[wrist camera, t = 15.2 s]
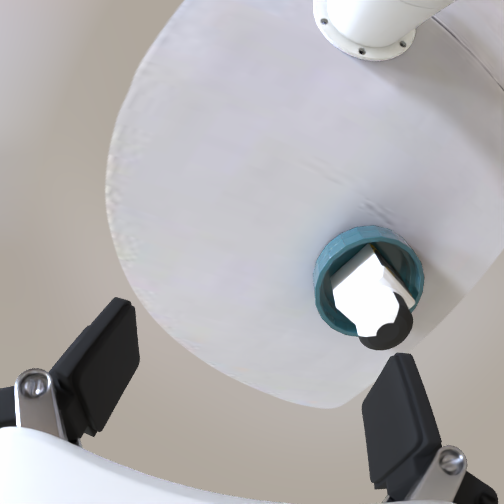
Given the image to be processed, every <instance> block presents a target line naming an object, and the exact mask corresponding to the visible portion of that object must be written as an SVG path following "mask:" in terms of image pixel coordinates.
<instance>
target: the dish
mask: <svg viewBox="0 0 504 504" xmlns="http://www.w3.org/2000/svg"><path fill="white" fill-rule="evenodd" d="M368 243H371V244H372V245H373V246H374V247H375V248H376V249H377V250H378V251H379V252H380V254H381V255H382V256H383V257H384V258H385V259H386V260H387V261H388V262H389V264H390V265H391V266H392V267H393V268H394V269H395V270H396V271H397V273H398V274H399V275H400V276H401V278H402V280H403V281H404V283H405V285H406V286H407V288H408V290H409V291H410V293H411V295H412V297H413V298H414V300H415V305H414V306H412V307H411V308H410V309H409V310H410V312H411V313H412V312H413V310H414V309H415V308H416V306H417V304H418V302H419V300H420V297H421V295H422V293H423V286H424V273H423V268H422V264H421V261H420V260H419V258H418V257H417V255H416V254H415V252H414V251H413V250H412V248H411V247H410V246H409V245H408V244H407V242H406V241H405V240H404V239H403V238H402V237H401V236H399V235H398V234H396V233H395V232H393V231H392V230H390V229H387V228H383V227H379V226H374V225H373V226H362V227H356V228H353V229H351V230H348V231H346V232H344V233H341V234H339V235H338V236H337V237H336V238H335V239H333V240H332V241H331V242H330V243H329V244H327V246H326V247H325V248H324V250H323V251H322V253H321V254H320V256H319V257H318V259H317V262H316V265H315V269H314V273H313V282H314V294H315V305H316V307H317V309H318V311H319V314H320V316H321V318H322V319H323V320H324V321H325V322H326V323H327V324H328V325H329V326H330V327H331V328H332V329H334V330H336V331H338V332H340V333H342V334H345V335H349V336H356V337H359V336H358V332H357V328H356V325H355V324H354V323H353V322H352V321H351V320H350V319H349V318H347V317H346V316H345V315H344V314H343V313H342V312H341V311H340V310H338V309H337V308H336V305H335V299H334V294H333V289H332V284H331V280H330V278H331V276H332V275H333V274H335V273H336V272H337V271H338V270H339V269H340V268H341V267H342V266H344V265H345V264H346V263H347V262H348V261H349V260H350V259H351V258H353V257H354V256H355V255H356V254H357V253H358V252H359V251H360V250H361V249H362V248H363V247H365V246H366V245H367V244H368Z"/></svg>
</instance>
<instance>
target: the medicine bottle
mask: <svg viewBox="0 0 504 504" xmlns="http://www.w3.org/2000/svg"><path fill="white" fill-rule="evenodd" d="M330 280H331V284H332V289H333V294H334V299H335V305H336V308H337V309H338V310H340V311H341V312H342V313H343V314H344V315H345V316H346V317H347V318H349V319H350V320H351V321H352V322H353V323H354V324H355V325H356V328H357V332H358V336H359V339H360V341H361V343H362V344H363V345H364V346H366V347H368V348H370V349H373V350H387V349H390V348H393V347H395V346H397V345H399V344H400V343H401V342H402V341H404V340H405V338H406V337H407V336H408V334H409V333H410V331H411V329H412V325H413V317H412V314H411V312H410V310H409V309H410V308H411V307H412V306H414V305H415V300H414V298H413V297H412V295H411V293H410V291H409V290H408V288H407V286H406V285H405V283H404V281H403V280H402V278H401V276H400V275H399V274H398V273H397V271H396V270H395V269H394V268H393V267H392V266H391V265H390V264H389V262H388V261H387V260H386V259H385V258H384V257H383V256H382V255H381V254H380V252H379V251H378V250H377V249H376V248H375V247H374V246H373V245H372V244H371V243H368V244H367V245H366V246H365V247H363V248H362V249H361V250H360V251H359V252H358V253H357V254H356V255H355V256H354V257H353V258H351V259H350V260H349V261H348V262H347V263H346V264H345V265H344V266H342V267H341V268H340V269H339V270H338V271H337V272H336V273H335V274H333V275H332V276H331V278H330Z"/></svg>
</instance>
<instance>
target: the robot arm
mask: <svg viewBox="0 0 504 504" xmlns="http://www.w3.org/2000/svg"><path fill="white" fill-rule="evenodd" d="M454 1H456V0H314V4H313V11H314V17H315V20H316V23H317V25H318V27H319V29H320V31H321V32H322V33H323V35H324V36H325V37H326V38H327V40H329V41H330V42H331V43H332V44H333V45H334V46H335V47H337V48H338V49H340V50H341V51H343V52H345V53H347V54H349V55H351V56H353V57H356V58H359V59H362V60H369V61H384V60H390V59H392V58H395V57H397V56H399V55H401V54H402V53H404V52H405V51H406V50H407V49H408V48H409V47H410V45H411V44H412V42H413V40H414V37H415V34H416V27H417V26H419V25H420V24H422V23H423V22H425V21H426V20H428V19H429V18H431V17H432V16H433V15H435V14H436V13H438V12H439V11H441V10H442V9H444V8H446V7H447V6H449V5H450V4H451V3H453V2H454ZM322 22H325V23H326V24H325V25H324V24H322ZM400 44H401V45H402V46H401V45H400ZM359 51H361V52H362V53H363V54H360V53H359ZM139 361H140V356H139V347H138V337H137V326H136V314H135V308H134V306H132V305H131V302H130V301H128V300H124V299H121V298H117V297H115V298H114V299H113V300H112V301H111V302H110V303H109V304H108V305H107V306H106V307H105V309H104V310H103V311H102V312H101V313H100V314H99V316H98V317H97V318H96V319H95V320H94V321H93V322H92V324H91V325H89V326H87V327H86V328H85V329H84V330H83V332H82V333H81V334H80V335H79V336H78V337H77V338H76V340H75V341H74V342H73V343H72V344H71V345H70V347H69V348H68V349H67V350H66V352H65V353H64V354H63V355H62V356H61V358H60V359H59V360H58V361H57V363H56V364H55V365H54V366H53V367H52V369H51V370H50V371H49V372H46V371H45V370H42V369H39V368H36V369H35V368H34V369H33V368H32V369H29V370H26V371H24V372H23V373H21V374H20V375H19V377H18V378H17V380H16V383H15V386H11V387H6V388H0V504H292V503H281V502H271V501H262V500H255V499H248V498H241V497H235V496H230V495H224V494H219V493H215V492H210V491H205V490H201V489H197V488H193V487H189V486H185V485H181V484H178V483H174V482H171V481H167V480H164V479H161V478H157V477H154V476H151V475H148V474H145V473H142V472H140V471H137V470H134V469H132V468H129V467H126V466H124V465H121V464H118V463H116V462H113V461H111V460H108V459H106V458H103V457H101V456H99V455H96V454H94V453H92V452H90V451H87V450H85V449H83V448H82V444H81V441H80V438H81V437H82V435H83V433H86V434H88V435H90V436H93V437H94V436H95V435H96V433H97V431H98V432H101V431H102V430H103V428H104V426H105V424H106V423H107V421H108V419H109V417H110V415H111V413H112V412H113V410H114V408H115V406H116V405H117V403H118V401H119V399H120V397H121V395H122V394H123V392H124V390H125V388H126V387H127V385H128V383H129V381H130V380H131V378H132V376H133V374H134V373H135V371H136V369H137V367H138V365H139ZM362 415H363V421H364V428H365V436H366V443H367V453H368V461H369V471H370V480H371V482H372V483H374V486H375V489H387V493H388V495H387V496H386V497H385V499H384V500H383V501H382V503H377V504H498V498H497V494H496V493H495V491H494V490H493V489H492V488H491V487H489V486H488V485H486V484H485V483H483V482H482V481H480V480H479V479H477V478H476V477H475V476H473V475H472V474H470V473H469V472H467V471H466V469H467V459H466V456H465V455H464V453H463V452H462V451H461V450H460V449H459V448H457V447H455V446H451V445H447V446H443V447H442V445H441V442H442V441H441V438H440V434H439V431H438V428H437V424H436V421H435V418H434V415H433V412H432V409H431V406H430V403H429V400H428V397H427V394H426V391H425V388H424V385H423V383H422V380H421V377H420V375H419V372H418V369H417V367H416V364H415V361H414V359H413V356H412V355H411V354H406V353H396V354H395V355H394V356H391V357H390V358H389V360H388V361H387V363H386V365H385V367H384V368H383V370H382V372H381V374H380V375H379V377H378V379H377V380H376V382H375V384H374V385H373V387H372V388H371V390H370V392H369V393H368V395H367V397H366V398H365V400H364V402H363V404H362Z"/></svg>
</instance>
